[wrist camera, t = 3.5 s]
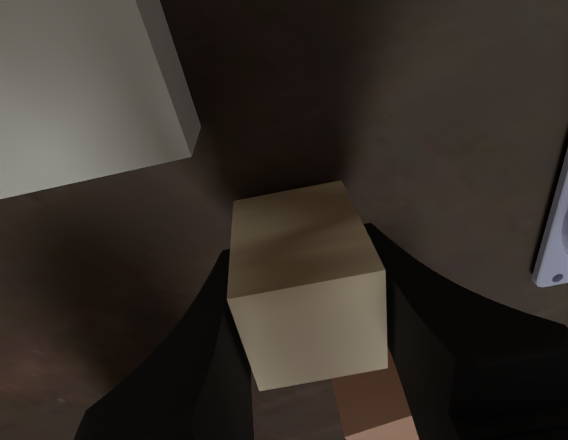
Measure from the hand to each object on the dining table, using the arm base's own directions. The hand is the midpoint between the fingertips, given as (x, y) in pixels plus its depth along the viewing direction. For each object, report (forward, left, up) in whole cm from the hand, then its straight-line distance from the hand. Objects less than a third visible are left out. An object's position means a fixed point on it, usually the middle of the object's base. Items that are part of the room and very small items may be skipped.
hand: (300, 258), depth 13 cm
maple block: (0, 0, -2) cm, 2 cm away
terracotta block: (-3, +9, -2) cm, 10 cm away
